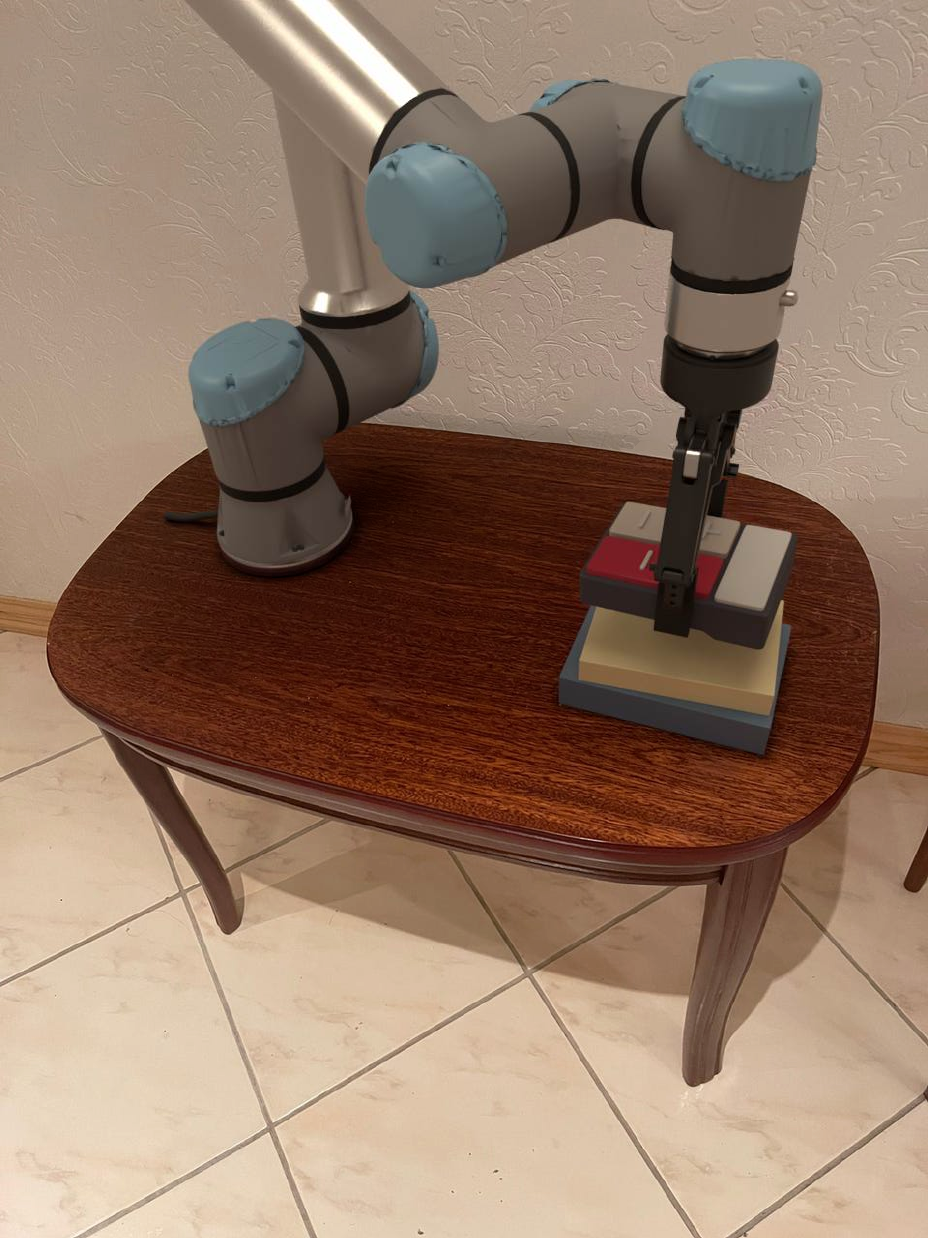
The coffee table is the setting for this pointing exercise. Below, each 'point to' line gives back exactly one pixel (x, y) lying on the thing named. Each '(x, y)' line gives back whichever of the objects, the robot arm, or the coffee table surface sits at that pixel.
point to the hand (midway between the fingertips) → (687, 584)
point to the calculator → (727, 578)
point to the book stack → (676, 679)
